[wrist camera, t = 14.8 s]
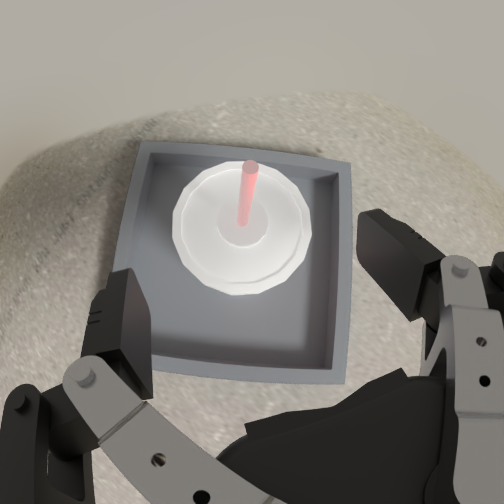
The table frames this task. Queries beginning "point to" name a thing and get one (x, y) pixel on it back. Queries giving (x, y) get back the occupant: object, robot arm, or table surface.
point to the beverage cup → (241, 227)
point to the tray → (249, 305)
